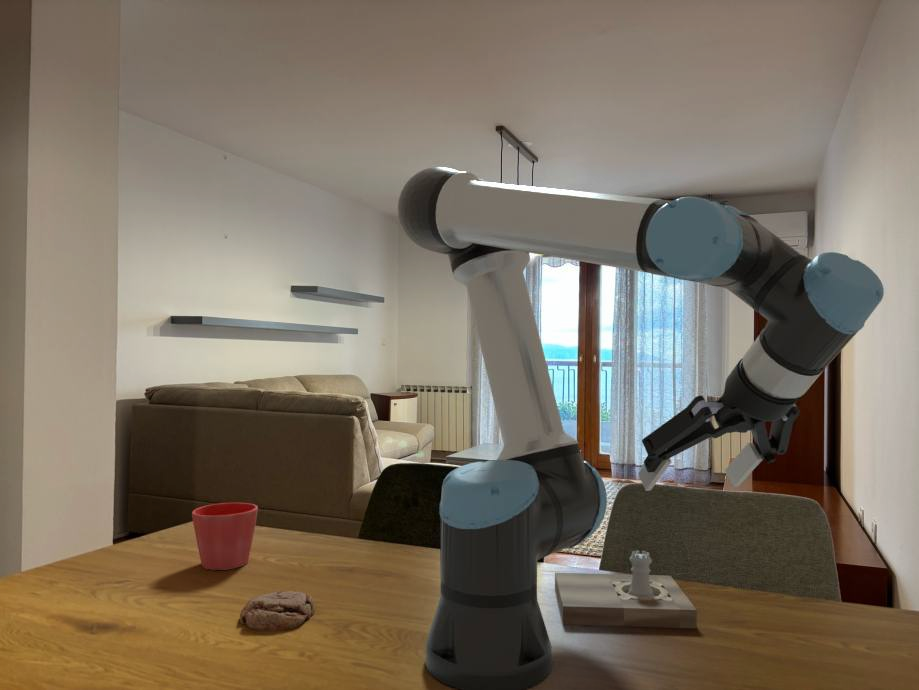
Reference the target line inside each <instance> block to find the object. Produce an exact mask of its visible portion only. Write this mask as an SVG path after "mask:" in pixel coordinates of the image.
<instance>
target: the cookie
mask: <svg viewBox="0 0 919 690" xmlns="http://www.w3.org/2000/svg"><path fill="white" fill-rule="evenodd" d="M314 609H315V600H314V598H313V596H311V595H310V594H308V593H305V592H301V591H297V590H296V591H295V590H294V591H293V590H288V591H282V592H281V590H277V591H274V592H269V593H266V594H262V595H256V596H252V597H250V599H248V601H247V604H246V605H245V606H244V607H243V608H242V609H241V611H240V614H239V616H240V617H239V624H241V625H242V626H243V625H245V626H246V627H247V628H249V629H251V630H254V631H260V632H261V631H279V630H280V631H281V630H289V629H293V628H296V627H300V626H301V625H302V624H303V623H304V622H305V621H306V620H311V617H314V615H315V610H314Z"/></svg>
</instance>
